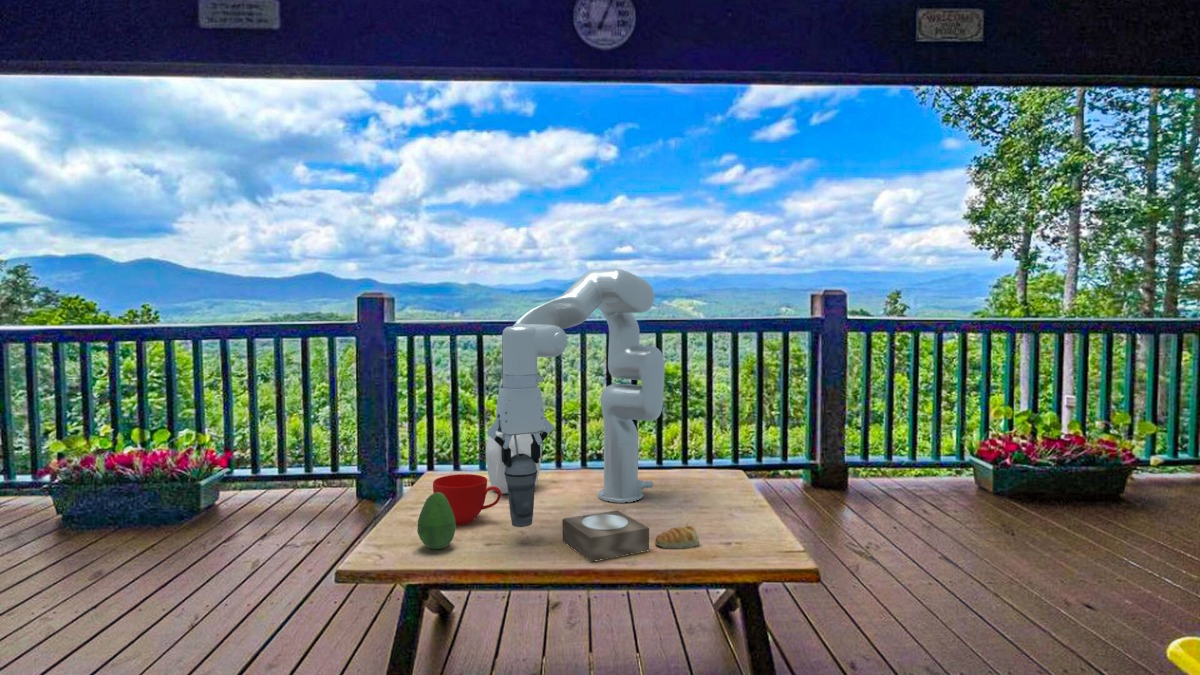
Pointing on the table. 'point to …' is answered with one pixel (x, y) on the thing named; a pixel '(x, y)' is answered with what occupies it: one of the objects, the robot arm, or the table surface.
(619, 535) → the walnut stand
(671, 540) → the pastry
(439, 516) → the fruit
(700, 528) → the table surface
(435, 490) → the ceramic cup
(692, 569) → the table surface
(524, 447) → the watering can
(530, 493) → the beverage cup
